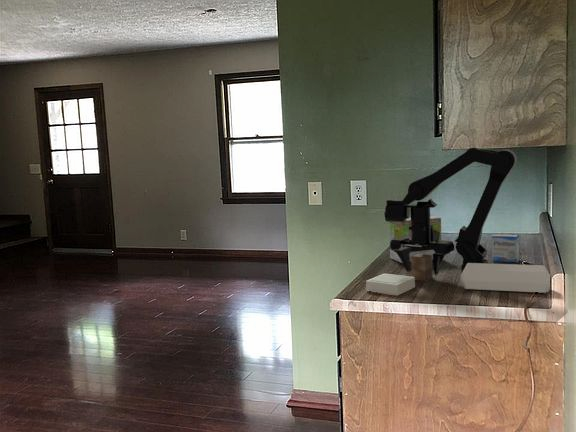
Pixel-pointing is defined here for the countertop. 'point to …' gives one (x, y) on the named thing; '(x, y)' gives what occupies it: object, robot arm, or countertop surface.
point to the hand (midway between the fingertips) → (422, 273)
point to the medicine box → (505, 248)
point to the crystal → (506, 277)
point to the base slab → (390, 284)
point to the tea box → (403, 231)
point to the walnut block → (421, 267)
